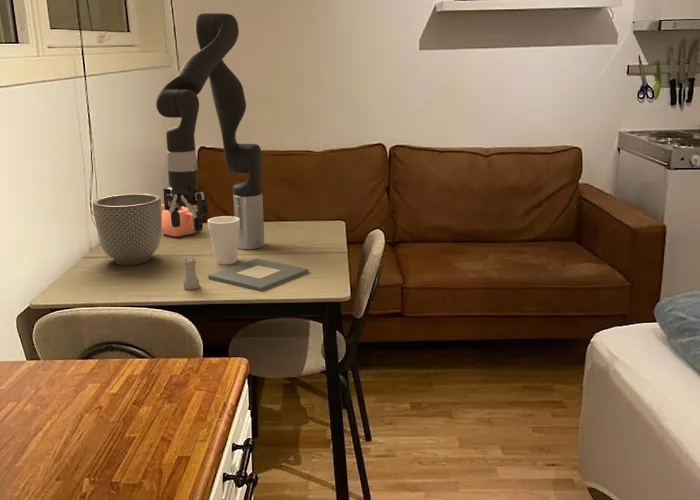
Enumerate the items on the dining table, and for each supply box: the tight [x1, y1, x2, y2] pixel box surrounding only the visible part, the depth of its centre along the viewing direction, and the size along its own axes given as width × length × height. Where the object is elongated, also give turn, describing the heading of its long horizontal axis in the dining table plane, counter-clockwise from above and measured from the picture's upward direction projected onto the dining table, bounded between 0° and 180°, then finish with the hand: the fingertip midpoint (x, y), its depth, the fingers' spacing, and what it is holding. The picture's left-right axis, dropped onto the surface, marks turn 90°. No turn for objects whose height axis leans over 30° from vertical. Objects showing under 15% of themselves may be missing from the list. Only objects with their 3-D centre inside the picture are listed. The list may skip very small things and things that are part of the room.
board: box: [207, 257, 309, 292], centre depth 207 cm, size 20×20×1 cm
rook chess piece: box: [182, 257, 201, 291], centre depth 197 cm, size 4×4×8 cm
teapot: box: [161, 203, 197, 238], centre depth 255 cm, size 12×18×10 cm, turn 50°
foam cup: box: [207, 215, 240, 265], centre depth 220 cm, size 10×9×13 cm
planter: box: [92, 193, 162, 266], centre depth 222 cm, size 20×20×19 cm
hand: (187, 228), depth 194 cm, fingers open, 8 cm apart
